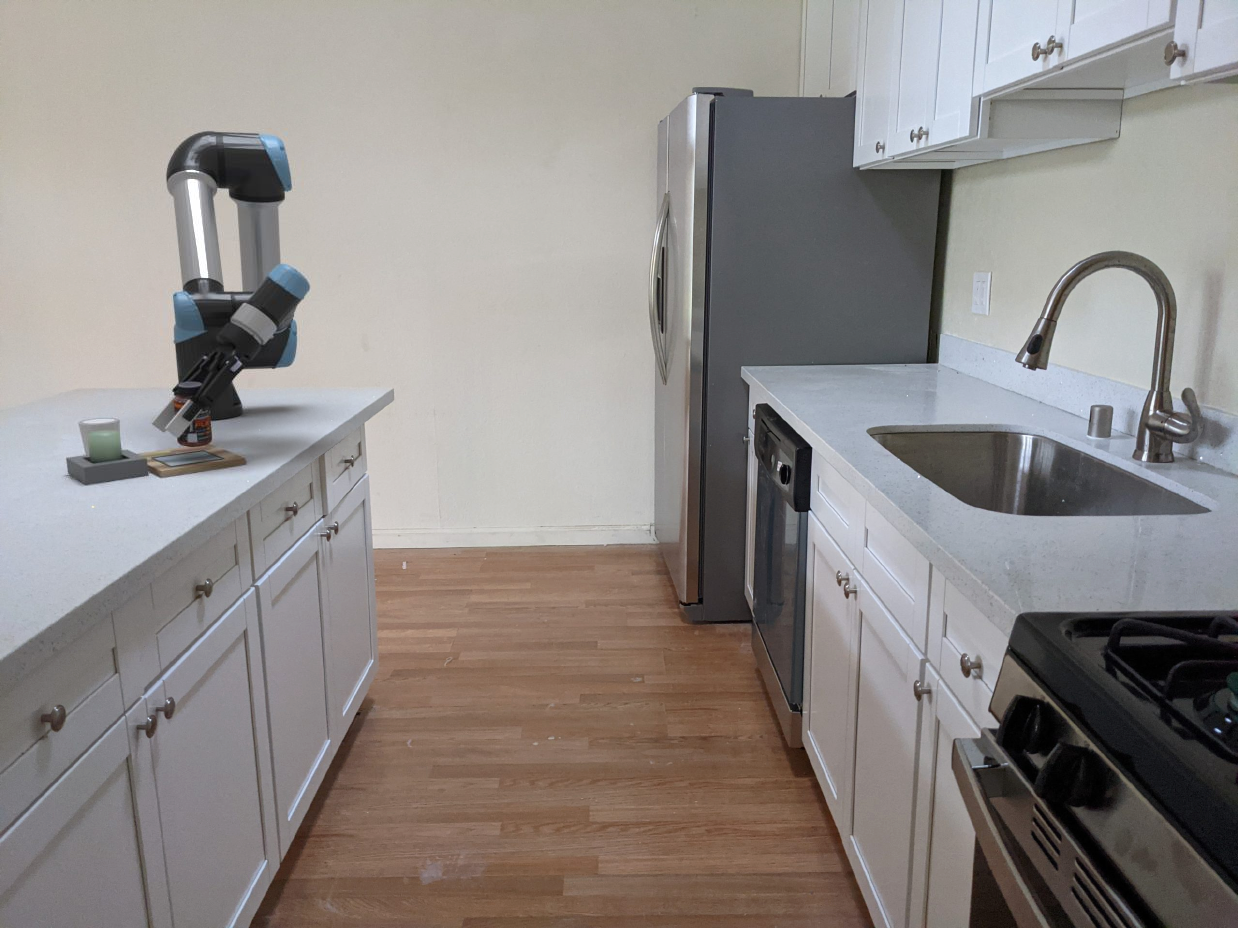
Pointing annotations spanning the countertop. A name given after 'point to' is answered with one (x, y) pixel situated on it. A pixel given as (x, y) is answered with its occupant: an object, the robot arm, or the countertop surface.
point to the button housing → (107, 468)
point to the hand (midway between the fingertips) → (164, 430)
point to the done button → (104, 446)
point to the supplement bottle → (201, 425)
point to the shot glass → (97, 428)
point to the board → (190, 460)
